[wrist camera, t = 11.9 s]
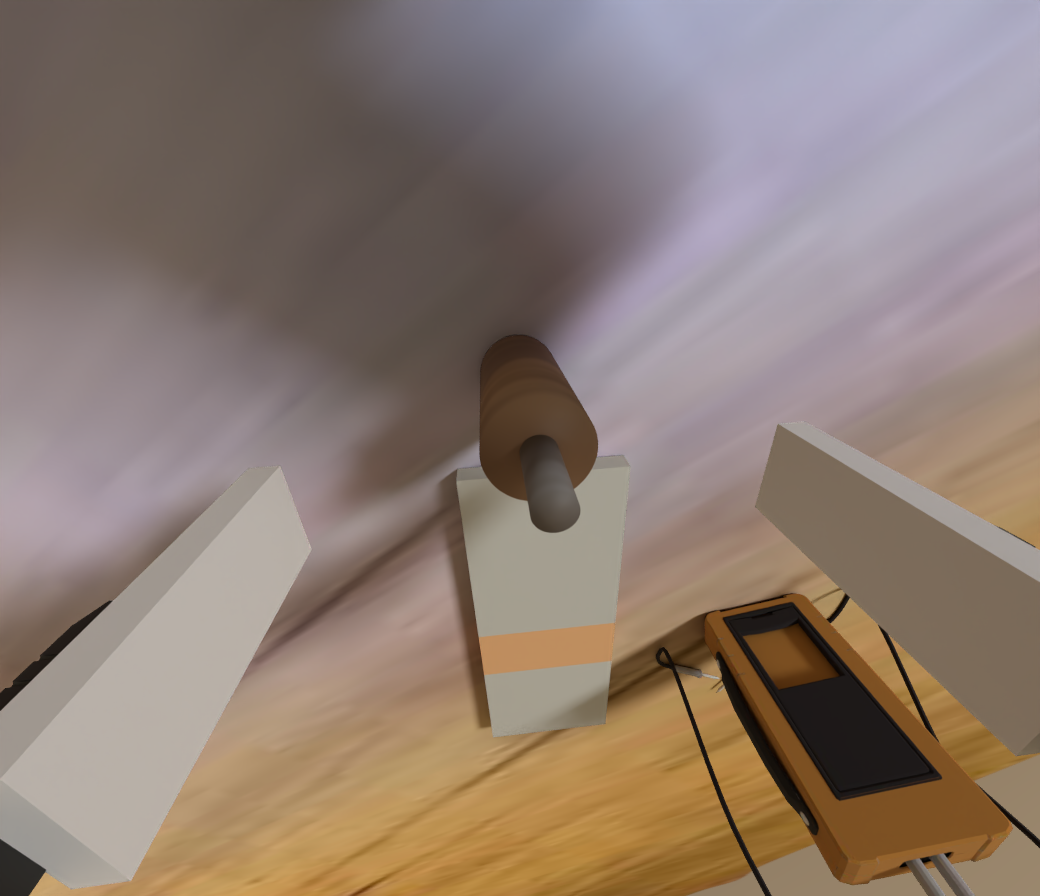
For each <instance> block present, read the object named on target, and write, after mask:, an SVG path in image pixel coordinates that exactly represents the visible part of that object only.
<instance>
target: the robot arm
mask: <svg viewBox="0 0 1040 896" xmlns="http://www.w3.org/2000/svg"><path fill="white" fill-rule="evenodd" d="M755 507H756V508H757V509H758V510H759V511H760V512H761V513H762V514H763V515H764V516H765V517H766V518H767V519H768V520H769V521H770V522H772V523H773V524H774V525H775V526H776V527H777V528H778V529H779V530H780V531H781V532H782V533H783V534H784V535H785V536H786V537H787V538H788V539H789V540H790V541H791V542H792V543H793V544H795V545H796V546H797V547H798V548H799V549H800V550H801V551H802V552H803V553H804V554H805V555H806V556H807V557H808V558H809V559H810V560H811V561H812V562H813V563H814V564H815V565H817V566H818V567H819V568H820V569H821V570H822V571H823V572H824V573H825V574H826V575H827V576H828V577H829V578H830V579H831V580H832V581H833V582H834V583H835V584H836V585H837V586H838V587H840V588H841V589H842V590H843V591H844V592H845V593H846V594H847V595H848V596H849V597H850V598H851V599H852V600H853V601H854V602H855V603H856V604H857V605H858V606H859V607H860V608H862V609H863V610H864V611H865V612H866V613H867V614H868V615H869V616H870V617H871V618H872V619H873V620H874V621H875V622H876V623H877V624H878V625H879V626H880V627H881V628H882V629H883V630H885V631H886V632H887V633H888V634H889V635H890V636H891V637H892V638H893V639H894V640H895V641H896V642H897V643H898V644H899V645H900V646H901V647H902V648H903V649H904V650H905V651H907V652H908V653H909V654H910V655H911V656H912V657H913V658H914V659H915V660H916V661H917V662H918V663H919V664H920V665H921V666H922V667H923V668H924V669H925V670H926V671H927V672H928V673H930V674H931V675H932V676H933V677H934V678H935V679H936V680H937V681H938V682H939V683H940V684H941V685H942V686H943V687H944V688H945V689H946V690H947V691H948V692H949V693H950V694H952V695H953V696H954V697H955V698H956V699H957V700H958V701H959V702H960V703H961V704H962V705H963V706H964V707H965V708H966V709H967V710H968V711H969V712H970V713H971V714H972V715H973V716H975V717H976V718H977V719H978V720H979V721H980V722H981V723H982V724H983V725H984V726H985V727H986V728H987V729H988V730H989V731H990V732H991V733H992V734H993V735H994V736H995V737H997V738H998V739H999V740H1000V741H1001V742H1002V743H1003V744H1004V745H1005V746H1006V747H1007V748H1008V749H1009V750H1010V751H1011V752H1012V753H1013V754H1014V755H1015V756H1021V755H1028V754H1035V753H1040V550H1038V549H1036V548H1035V546H1033V545H1031V544H1029V543H1028V542H1026V541H1024V540H1022V539H1020V538H1018V537H1017V536H1015V535H1013V534H1011V533H1009V532H1007V531H1006V530H1004V529H1002V528H1000V527H997V526H995V525H993V524H991V523H989V522H987V521H985V520H983V519H982V518H980V517H978V516H976V515H974V514H973V513H971V512H969V511H967V510H965V509H963V508H962V507H960V506H958V505H956V504H954V503H952V502H951V501H949V500H947V499H945V498H943V497H941V496H940V495H938V494H936V493H934V492H932V491H931V490H929V489H927V488H925V487H923V486H921V485H920V484H918V483H916V482H914V481H912V480H910V479H909V478H907V477H905V476H903V475H901V474H900V473H898V472H896V471H894V470H892V469H890V468H889V467H887V466H885V465H883V464H881V463H879V462H878V461H876V460H874V459H872V458H870V457H869V456H867V455H865V454H863V453H861V452H859V451H858V450H856V449H854V448H852V447H850V446H848V445H847V444H845V443H843V442H841V441H839V440H838V439H836V438H834V437H832V436H830V435H828V434H827V433H825V432H823V431H821V430H819V429H817V428H816V427H814V426H812V425H810V424H808V423H806V422H793V423H781V424H778V425H777V429H776V432H775V436H774V440H773V443H772V447H771V451H770V454H769V458H768V462H767V465H766V469H765V473H764V476H763V480H762V483H761V487H760V491H759V494H758V498H757V502H756V505H755ZM311 550H312V549H311V547H310V544H309V541H308V539H307V536H306V533H305V531H304V528H303V525H302V523H301V520H300V517H299V515H298V512H297V509H296V507H295V504H294V501H293V499H292V496H291V493H290V491H289V488H288V485H287V483H286V480H285V477H284V475H283V472H282V469H281V467H280V466H270V467H258V468H248V469H247V470H246V471H245V472H244V473H243V474H242V475H241V476H240V477H239V478H238V479H237V480H236V481H235V482H234V483H233V484H232V485H231V486H230V487H229V488H228V489H227V490H226V491H225V492H224V493H223V494H222V495H221V496H220V497H219V498H218V499H217V500H216V501H215V502H214V503H213V504H212V505H211V506H210V507H209V508H208V509H207V510H205V511H204V512H203V513H202V514H201V515H200V516H199V517H198V518H197V519H196V520H195V521H194V522H193V523H192V524H191V525H190V526H189V527H188V528H187V529H186V530H185V531H184V532H183V533H182V534H181V535H180V536H179V537H178V538H177V539H176V540H175V541H174V542H173V543H172V544H171V545H170V546H169V547H168V548H167V549H166V550H165V551H164V552H163V553H162V554H161V555H159V556H158V557H157V558H156V559H155V560H154V561H153V562H152V563H151V564H150V565H149V566H148V567H147V568H146V569H145V570H144V571H143V572H142V573H141V574H140V575H139V576H138V577H137V578H136V579H135V580H134V581H133V582H132V583H131V584H130V585H129V586H128V587H127V588H126V589H125V590H124V591H123V592H122V593H121V594H120V595H119V596H118V597H117V598H116V599H115V600H113V601H108V602H107V603H105V604H104V605H102V606H101V607H99V608H98V609H96V610H95V611H93V612H92V613H90V614H89V615H87V616H86V617H84V618H83V619H81V620H80V621H78V622H77V623H75V624H74V625H72V626H71V627H70V628H69V629H68V630H67V631H66V632H65V633H64V634H63V635H62V636H60V637H59V638H58V639H57V640H56V641H55V642H54V643H53V644H52V645H51V646H50V647H49V648H48V649H47V650H46V651H45V652H43V653H42V654H41V655H40V657H41V658H40V660H39V661H35V662H33V663H32V664H31V665H30V666H29V667H28V668H26V669H25V670H24V671H23V672H22V673H21V674H20V675H19V676H18V677H17V678H16V679H15V680H14V681H13V685H12V687H10V688H5V689H4V690H3V691H2V692H1V693H0V896H29V895H30V893H31V892H32V890H33V889H34V887H35V886H36V884H37V883H38V882H39V880H40V879H41V877H42V876H43V874H44V873H45V872H46V873H48V874H49V875H51V876H52V877H54V878H55V879H57V880H58V881H60V882H61V883H63V884H64V885H66V886H67V887H69V888H70V889H77V888H84V887H91V886H98V885H105V884H112V883H119V882H127V881H131V880H132V878H133V876H134V874H135V872H136V871H137V869H138V867H139V865H140V863H141V861H142V860H143V858H144V856H145V854H146V852H147V850H148V849H149V847H150V845H151V843H152V841H153V839H154V838H155V836H156V834H157V832H158V830H159V828H160V827H161V825H162V823H163V821H164V819H165V817H166V816H167V814H168V812H169V810H170V808H171V806H172V805H173V803H174V801H175V799H176V797H177V795H178V794H179V792H180V790H181V788H182V786H183V784H184V783H185V781H186V779H187V777H188V775H189V773H190V772H191V770H192V768H193V766H194V764H195V762H196V761H197V759H198V757H199V755H200V753H201V751H202V750H203V748H204V746H205V744H206V742H207V740H208V739H209V737H210V735H211V733H212V731H213V729H214V728H215V726H216V724H217V722H218V720H219V718H220V717H221V715H222V713H223V711H224V709H225V707H226V706H227V704H228V702H229V700H230V698H231V697H232V695H233V693H234V691H235V689H236V687H237V686H238V684H239V682H240V680H241V678H242V676H243V675H244V673H245V671H246V669H247V667H248V665H249V664H250V662H251V660H252V658H253V656H254V654H255V653H256V651H257V649H258V647H259V645H260V643H261V642H262V640H263V638H264V636H265V634H266V632H267V631H268V629H269V627H270V625H271V623H272V621H273V620H274V618H275V616H276V614H277V612H278V610H279V609H280V607H281V605H282V603H283V601H284V599H285V598H286V596H287V594H288V592H289V590H290V588H291V587H292V585H293V583H294V581H295V579H296V577H297V576H298V574H299V572H300V570H301V568H302V566H303V565H304V563H305V561H306V559H307V557H308V555H309V554H310V552H311Z"/></svg>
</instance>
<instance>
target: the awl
mask: <svg viewBox="0 0 1040 896" xmlns="http://www.w3.org/2000/svg"><path fill="white" fill-rule="evenodd" d="M479 451H480V462H481V466H482V469H483V471H484V473H485V475H486V477H487V478H488V480H489V481H490V482H491V483H492V484H493V485H494V486H495V487H496V488H497V489H498V490H499V491H501V492H502V493H504V494H506V495H508V496H510V497H512V498H515V499H519V500H524V501H528V506H529V512H530V518H531V521H532V523H533V524H534V526H535V527H536V528H538V529H539V530H541V531H544V532H548V533H558V532H562V531H565V530H567V529H569V528H570V527H572V526H573V525H574V524H575V523H576V522H577V520H578V519H579V516H580V511H581V509H580V504H579V502H578V499H577V496H576V493H575V491H574V489H575V488H576V487H577V486H578V485H580V484H581V483H582V482H583V481H584V480H585V478H586V477H587V476H588V474H589V473H590V471H591V470H592V468H593V466H594V463H595V461H596V457H597V452H598V439H597V433H596V430H595V428H594V426H593V424H592V422H591V420H590V418H589V417H588V415H587V413H586V412H585V410H584V408H583V406H582V405H581V403H580V401H579V400H578V398H577V396H576V395H575V393H574V391H573V390H572V388H571V386H570V385H569V383H568V381H567V380H566V378H565V376H564V375H563V373H562V371H561V370H560V368H559V366H558V364H557V363H556V361H555V359H554V358H553V356H552V354H551V353H550V351H549V350H548V348H547V347H546V346H545V345H544V344H543V343H541V342H540V341H538V340H537V339H535V338H532V337H529V336H525V335H513V336H508V337H505V338H503V339H501V340H499V341H497V342H496V343H495V344H493V345H492V346H491V347H490V348H489V350H488V351H487V352H486V354H485V356H484V358H483V361H482V364H481V371H480V449H479Z"/></svg>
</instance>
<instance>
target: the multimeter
mask: <svg viewBox="0 0 1040 896" xmlns="http://www.w3.org/2000/svg"><path fill="white" fill-rule="evenodd" d="M849 598H850V597H849V596H848V595H847V594H846V596H845V598H844V600H843V602H842V604H841V605H840V607H839V608H838V610H837V611H836V613H835V614H834V615H833V616H832V617H831V618H830V619H829V620H828V621H827V620H826V619H825V617H823V615H822V614H821V613H820V612H819V611H818V610H817V609H816V608H815V607H814V606H813V604H812V603H811V602H810V601H809V599H808V598H807V597H805V596H803V595H801V594H789V595H783V598H780V599H776V600H771V601H767V602H763V603H758V604H754V605H750V606H745V607H741V608H736V609H732V610H728V611H723V612H720V611H719V610H718V611H715V612H711V613H708V614H707V615H706V618H705V643H706V644H707V646H708V647H709V649H710V651H711V653H712V654H713V656H714V658H715V660H716V662H717V665H718V667H719V669H720V671H721V674H722V682H723V685H722V686H721V687H720V688H719V689H718V690H717V692H719V691H721V690H722V689H723V688H724V687H725V689H726V691H727V693H728V696H729V698H730V701H731V703H732V705H733V708H734V710H735V712H736V714H737V716H738V717H739V719H740V721H741V723H742V725H743V726H744V728H745V730H746V732H747V734H748V736H749V737H750V739H751V741H752V743H753V745H754V747H755V748H756V750H757V752H758V754H759V756H760V757H761V759H762V761H763V763H764V765H765V766H766V768H767V770H768V771H769V773H770V774H771V776H772V778H773V779H774V781H775V783H776V784H777V786H778V787H779V789H780V791H781V792H782V794H783V795H784V797H785V799H786V800H787V802H788V803H789V804H790V805H791V806H792V807H793V808H794V809H795V810H796V811H797V813H798V814H799V815H800V816H801V818H802V820H803V821H804V823H805V825H806V827H807V828H808V830H809V832H810V834H811V836H812V838H813V839H814V841H815V843H816V845H817V847H818V848H819V850H820V852H821V854H822V856H823V857H824V859H825V861H826V863H827V865H828V867H829V868H830V870H831V872H832V874H833V875H834V877H835V878H837V879H838V880H839V881H840V882H843V883H847V884H850V885H857V884H868V883H869V881H870V880H875V879H880V878H885V877H890V876H895V875H900V874H905V873H909V872H912V873H913V874H914V876H915V877H916V879H917V880H918V882H919V883H920V885H921V886H922V888H923V889H924V890H925V892H926V894H927V895H928V896H946V895H945V894H944V893H943V891H942V890H941V888H940V887H939V885H938V884H937V883H936V881H935V880H934V879H933V877H932V875H931V874H930V873H929V871H928V870H927V869H929V868H934V867H936V868H937V869H938V870H939V872H940V873H941V875H942V876H943V877H944V878H945V880H946V882H947V883H948V884H949V886H950V887H951V889H952V890H953V891H954V893H955V894H956V895H957V896H975V895H974V894H973V892H972V891H971V890H970V888H969V887H968V885H967V884H966V883H965V881H964V880H963V879H962V877H961V876H960V875H959V874H958V872H957V871H956V870H955V868H954V867H953V866H952V864H954V863H959V862H964V861H969V860H971V861H973V862H976V861H979V860H981V859H985V858H988V857H990V856H991V854H992V853H993V852H994V851H995V850H996V849H997V848H998V847H999V845H1000V844H1001V843H1002V842H1003V841H1004V840H1005V839H1006V837H1007V836H1008V835H1009V834H1010V832H1011V831H1012V829H1013V827H1012V825H1011V822H1012V823H1013V824H1014V825H1015V826H1016V827H1017V828H1018V829H1019V830H1021V831H1022V832H1023V833H1024V834H1025V835H1026V836H1027V837H1028V838H1029V839H1031V840H1032V841H1033V842H1034V843H1035V844H1036V845H1037V846H1038V847H1039V848H1040V840H1039V839H1038V838H1037V837H1036V836H1035V835H1034V834H1033V833H1032V832H1030V831H1029V830H1028V829H1027V828H1026V827H1025V826H1024V825H1022V824H1021V823H1020V822H1019V821H1018V820H1017V819H1016V818H1014V817H1013V816H1012V815H1011V814H1010V813H1009V812H1008V811H1006V810H1005V809H1004V808H1003V807H1002V806H1001V805H1000V804H999V803H998V802H996V801H995V800H994V799H993V798H992V797H991V796H989V795H988V794H987V793H986V792H985V791H984V790H983V789H982V788H981V787H980V786H978V785H977V784H976V783H975V782H974V781H973V780H972V779H971V778H970V777H969V775H968V774H967V773H966V772H965V771H964V770H963V769H962V768H961V767H960V765H959V764H958V763H957V762H956V761H955V760H954V759H953V758H952V757H951V756H950V754H949V753H948V752H947V751H946V750H945V749H944V748H943V747H942V746H941V744H940V743H939V741H938V739H937V737H936V735H935V733H934V731H933V729H932V727H931V725H930V723H929V721H928V719H927V717H926V715H925V713H924V710H923V708H922V706H921V704H920V702H919V700H918V697H917V695H916V693H915V691H914V689H913V687H912V684H911V682H910V680H909V678H908V676H907V674H906V671H905V669H904V667H903V665H902V663H901V661H900V659H899V656H898V654H897V652H896V650H895V648H894V646H893V643H892V641H891V639H890V637H889V635H888V633H887V632H886V631H885V630H883V629H882V628H881V627H880V626H879V625H878V626H879V628H880V630H881V632H882V634H883V636H884V638H885V640H886V642H887V644H888V646H889V648H890V650H891V653H892V655H893V657H894V659H895V661H896V664H897V666H898V668H899V670H900V672H901V675H902V677H903V679H904V681H905V684H906V686H907V688H908V690H909V692H910V695H911V697H912V699H913V701H914V703H915V706H916V708H917V710H918V712H919V714H920V717H921V719H922V721H923V723H924V725H925V727H926V728H925V727H924V726H923V725H922V724H921V722H920V721H919V720H918V719H917V718H916V717H915V716H914V715H913V714H912V712H911V711H910V710H909V709H908V708H907V707H906V706H905V705H904V704H903V703H902V701H901V700H900V699H899V698H898V697H897V696H896V695H895V694H894V693H893V691H892V690H891V689H890V688H889V687H888V686H887V685H886V684H885V683H884V682H883V680H882V679H881V678H880V677H879V676H878V675H877V674H876V673H875V672H874V671H873V669H872V668H871V667H870V666H869V665H868V664H867V663H866V662H865V661H864V660H863V659H862V658H861V656H860V655H859V654H858V653H857V652H856V651H855V650H854V649H853V648H852V647H851V646H850V645H849V643H848V642H847V641H846V640H845V639H844V638H843V637H842V636H841V635H840V634H839V633H838V632H837V630H836V629H835V628H834V627H833V626H832V625H831V624H830V623H831V622H832V621H834V620H835V618H836V617H837V616H838V615H839V614H840V613H841V611H842V610H843V608H844V607H845V605H846V603H847V602H848V600H849ZM662 652H664V653H665V655H666V657H667V659H668V661H669V663H670V665H668V664H665V663H663V662H662V661H660V655H661V653H662ZM656 660H657V662H658V663H659V664H660V665H662V666H663V667H666V668H670V669H671V670H672V671H673V673H674V676H675V678H676V681H677V684H678V687H679V689H680V692H681V695H682V698H683V701H684V703H685V706H686V709H687V712H688V715H689V718H690V720H691V723H692V726H693V729H694V732H695V735H696V737H697V740H698V743H699V746H700V749H701V752H702V754H703V757H704V760H705V763H706V766H707V768H708V771H709V774H710V776H711V779H712V782H713V784H714V787H715V790H716V792H717V795H718V797H719V800H720V803H721V805H722V808H723V810H724V812H725V815H726V817H727V819H728V822H729V824H730V826H731V829H732V831H733V833H734V835H735V837H736V839H737V841H738V843H739V845H740V847H741V850H742V852H743V854H744V856H745V858H746V860H747V862H748V864H749V866H750V868H751V869H752V871H753V873H754V875H755V877H756V879H757V881H758V883H759V885H760V887H761V888H762V891H763V892H764V894H765V896H771V894H770V892H769V890H768V888H767V886H766V884H765V882H764V881H763V879H762V877H761V875H760V873H759V871H758V869H757V867H756V866H755V864H754V862H753V860H752V858H751V856H750V854H749V852H748V850H747V848H746V846H745V844H744V842H743V840H742V838H741V836H740V834H739V832H738V829H737V827H736V825H735V823H734V821H733V818H732V816H731V814H730V812H729V809H728V807H727V805H726V802H725V800H724V797H723V795H722V792H721V789H720V787H719V784H718V782H717V779H716V776H715V774H714V771H713V769H712V766H711V764H710V761H709V758H708V755H707V752H706V750H705V747H704V744H703V741H702V739H701V736H700V733H699V730H698V728H697V725H696V722H695V719H694V717H693V714H692V711H691V708H690V705H689V703H688V700H687V697H686V694H685V692H684V689H683V686H682V684H681V681H680V678H679V676H678V673H677V672H679V673H683V674H688V675H692V676H696V677H698V678H702V676H705V677H709V678H714V679H720V678H718V677H716V676H713V675H708V674H704V673H702V671H701V670H699V669H698V670H695V669H691V668H687V667H683V666H678V665H674V663H673V661H672V659H671V657H670V655H669V653H668V651H667V650H666V649H665V648H664V647H662V648H660V649H659V651H658V653H657V655H656ZM717 692H716V693H717ZM1010 821H1011V822H1010Z"/></svg>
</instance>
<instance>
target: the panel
mask: <svg viewBox="0 0 1040 896" xmlns="http://www.w3.org/2000/svg"><path fill="white" fill-rule="evenodd" d="M629 476H630V465H629V463H628V462H627V460H626V459H625V457H624V456H623V455H619V456H607V457H596V461H595V463H594V466H593V468H592V470H591V471H590V473H589V474H588V476H587V477H586V478H585V480H584V481H583V482H582V483H581V484H580V485H578V486H577V487H576V488H575V489H574V491H575V493H576V496H577V499H578V502H579V504H580V509H581V511H580V516H579V519H578V520H577V522H576V523H575V524H574V525H573V526H572V527H570V528H569V529H567V530H565V531H562V532H558V533H548V532H544V531H541V530H539V529H538V528H536V527H535V526H534V524H533V523H532V521H531V518H530V512H529V506H528V501H524V500H519V499H515V498H512V497H510V496H508V495H506V494H504V493H502V492H501V491H499V490H498V489H497V488H496V487H495V486H494V485H493V484H492V483H491V482H490V481H489V480H488V478H487V477H486V475H485V473H484V471H483V469H482V467H475V468H463V469H457V477H456V484H457V491H458V498H459V504H460V511H461V518H462V525H463V532H464V539H465V546H466V553H467V560H468V567H469V574H470V581H471V588H472V594H473V601H474V608H475V615H476V622H477V629H478V636H479V643H480V650H481V657H482V664H483V671H484V677H485V684H486V691H487V698H488V705H489V712H490V719H491V726H492V733H493V737H500V736H508V735H516V734H525V733H533V732H542V731H550V730H558V729H567V728H575V727H584V726H592V725H600V724H605V722H606V712H607V702H608V692H609V681H610V671H611V661H612V651H613V640H614V630H615V620H616V610H617V599H618V589H619V579H620V568H621V558H622V548H623V538H624V527H625V517H626V507H627V497H628V486H629Z"/></svg>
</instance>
